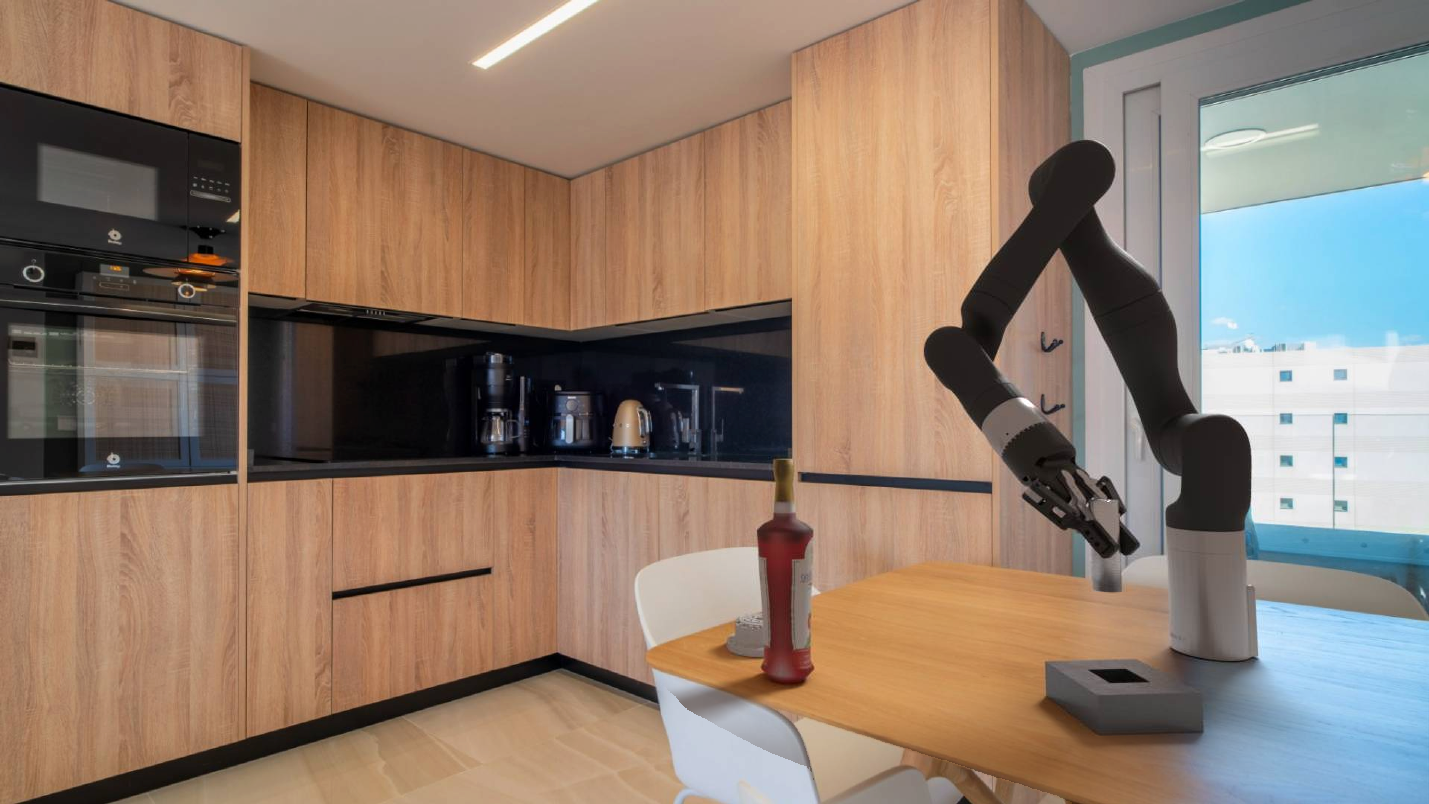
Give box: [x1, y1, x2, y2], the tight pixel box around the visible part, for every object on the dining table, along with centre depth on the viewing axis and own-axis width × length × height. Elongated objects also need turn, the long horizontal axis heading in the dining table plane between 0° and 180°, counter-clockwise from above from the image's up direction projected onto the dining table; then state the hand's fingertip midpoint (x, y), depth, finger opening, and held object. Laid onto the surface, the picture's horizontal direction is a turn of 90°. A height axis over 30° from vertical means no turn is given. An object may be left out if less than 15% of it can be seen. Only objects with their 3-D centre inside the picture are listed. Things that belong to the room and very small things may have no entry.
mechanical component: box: [726, 612, 764, 658], centre depth 105 cm, size 10×4×10 cm
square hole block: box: [1044, 658, 1205, 736], centre depth 79 cm, size 11×11×4 cm
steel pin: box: [1087, 498, 1123, 594], centre depth 81 cm, size 3×3×10 cm
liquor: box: [756, 458, 815, 685], centre depth 93 cm, size 7×7×28 cm
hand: (1122, 551), depth 79 cm, fingers closed on steel pin, 3 cm apart
